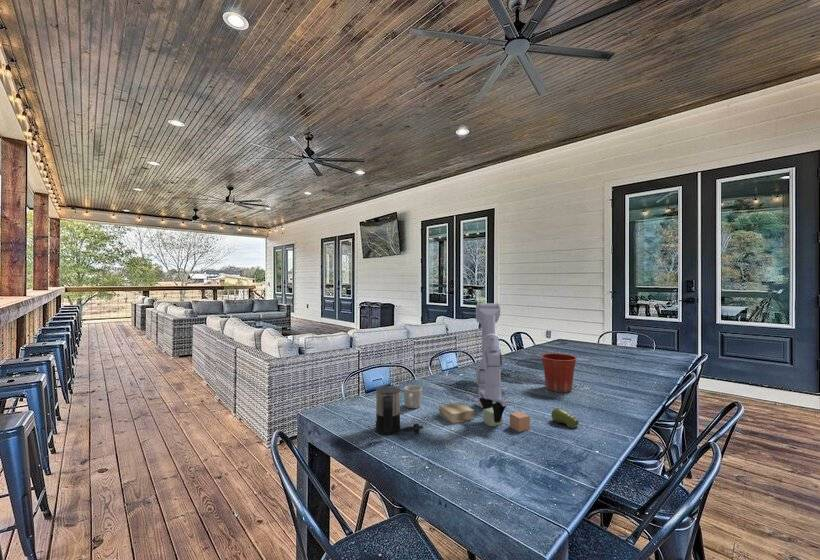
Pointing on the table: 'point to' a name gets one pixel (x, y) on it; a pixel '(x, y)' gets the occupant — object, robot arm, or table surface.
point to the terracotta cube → (520, 421)
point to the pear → (564, 417)
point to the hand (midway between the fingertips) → (492, 419)
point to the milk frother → (389, 411)
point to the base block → (456, 412)
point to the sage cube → (490, 417)
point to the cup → (412, 396)
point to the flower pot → (559, 371)
